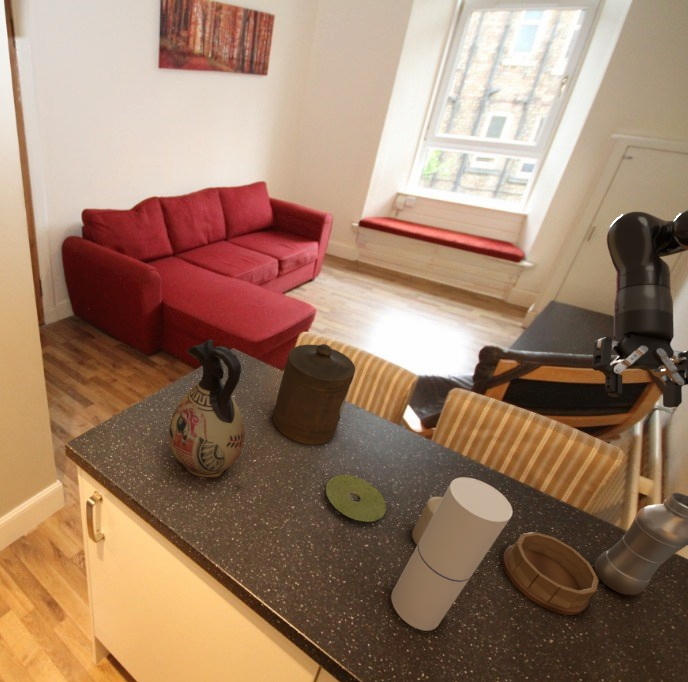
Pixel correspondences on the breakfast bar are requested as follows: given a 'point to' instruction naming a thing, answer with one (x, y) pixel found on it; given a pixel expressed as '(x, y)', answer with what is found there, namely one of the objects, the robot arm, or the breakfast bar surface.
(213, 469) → the ceramic jug
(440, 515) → the cylindrical container
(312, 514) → the breakfast bar surface
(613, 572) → the silver metal bottle
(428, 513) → the candle
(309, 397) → the wooden container
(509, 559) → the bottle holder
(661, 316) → the robot arm
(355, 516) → the mat
